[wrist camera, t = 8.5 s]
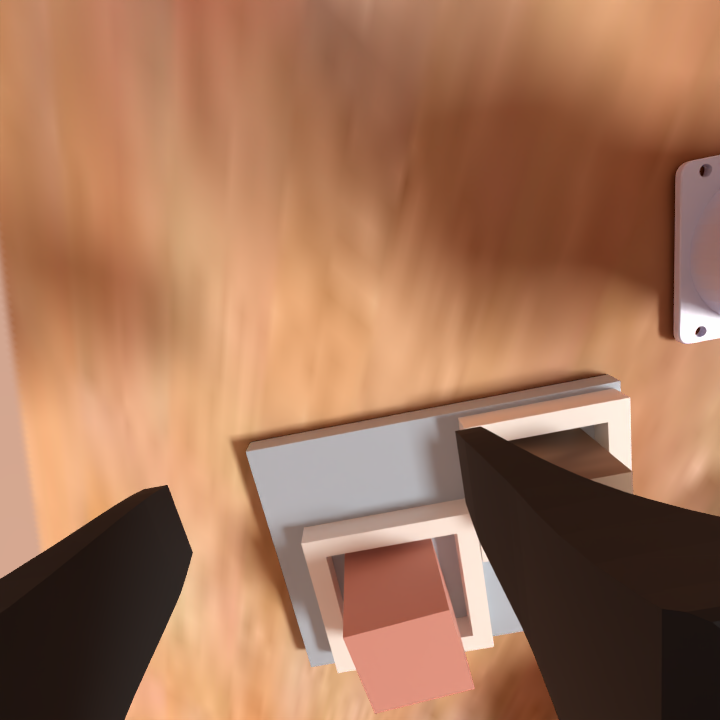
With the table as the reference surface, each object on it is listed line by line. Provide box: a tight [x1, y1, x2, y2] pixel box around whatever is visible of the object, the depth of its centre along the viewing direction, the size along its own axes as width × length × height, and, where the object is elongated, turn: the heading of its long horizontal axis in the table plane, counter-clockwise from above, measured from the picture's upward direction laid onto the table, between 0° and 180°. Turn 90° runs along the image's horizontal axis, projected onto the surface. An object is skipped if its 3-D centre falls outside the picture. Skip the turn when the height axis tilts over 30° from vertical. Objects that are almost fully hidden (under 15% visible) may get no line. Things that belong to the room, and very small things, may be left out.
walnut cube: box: [509, 427, 633, 494], centre depth 19 cm, size 4×4×4 cm
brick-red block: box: [343, 538, 475, 714], centre depth 20 cm, size 4×4×5 cm
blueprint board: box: [246, 374, 632, 673], centre depth 22 cm, size 18×14×2 cm
